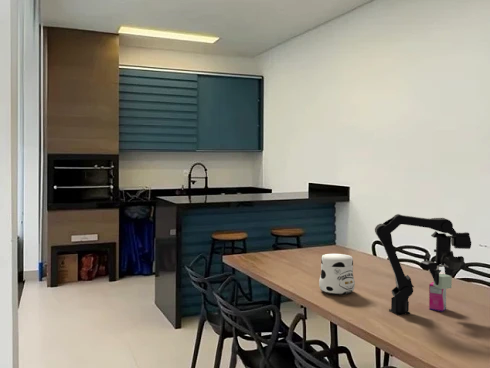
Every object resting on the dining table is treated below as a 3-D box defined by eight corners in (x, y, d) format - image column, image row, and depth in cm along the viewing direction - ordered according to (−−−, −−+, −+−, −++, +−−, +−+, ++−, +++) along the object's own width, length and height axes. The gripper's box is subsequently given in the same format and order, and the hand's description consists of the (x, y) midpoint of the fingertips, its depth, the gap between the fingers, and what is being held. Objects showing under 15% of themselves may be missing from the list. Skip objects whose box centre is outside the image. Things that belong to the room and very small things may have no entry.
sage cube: (441, 288, 192) (441, 277, 192) (433, 285, 197) (433, 274, 197) (451, 288, 194) (451, 276, 194) (443, 285, 199) (443, 273, 198)
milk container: (352, 299, 218) (352, 261, 217) (315, 295, 224) (316, 258, 223) (356, 289, 234) (357, 254, 233) (322, 286, 240) (323, 252, 239)
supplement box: (432, 306, 208) (433, 281, 207) (446, 308, 204) (447, 283, 203) (428, 309, 203) (429, 283, 203) (442, 312, 199) (443, 286, 199)
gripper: (437, 252, 184) (436, 291, 185) (475, 250, 190) (474, 288, 190) (419, 247, 195) (418, 284, 196) (456, 245, 200) (455, 281, 201)
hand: (442, 284), depth 195 cm, fingers closed on sage cube, 5 cm apart
